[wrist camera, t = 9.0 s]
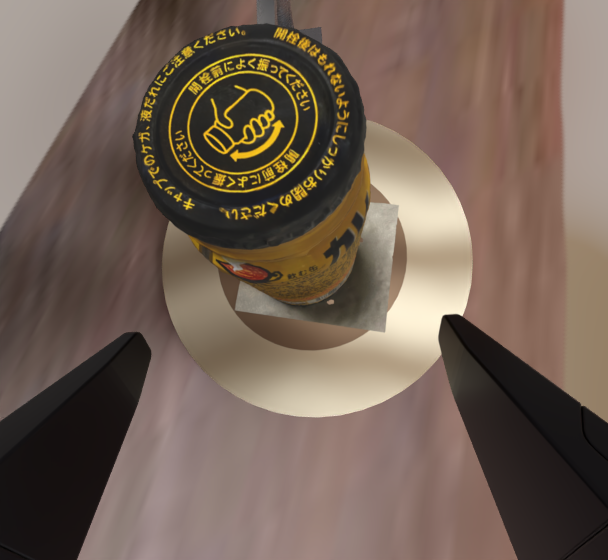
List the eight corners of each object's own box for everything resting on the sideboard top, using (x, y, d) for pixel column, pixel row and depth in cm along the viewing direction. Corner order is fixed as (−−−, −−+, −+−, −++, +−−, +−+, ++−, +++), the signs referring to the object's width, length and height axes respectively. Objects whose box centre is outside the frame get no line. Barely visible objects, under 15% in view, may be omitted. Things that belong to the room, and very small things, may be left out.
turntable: (481, 406, 18) (494, 414, 16) (171, 413, 19) (157, 420, 18) (443, 113, 20) (452, 96, 19) (176, 142, 22) (165, 128, 21)
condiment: (256, 192, 19) (130, -24, 7) (398, 206, 18) (511, -19, 6) (235, 310, 18) (51, 278, 6) (384, 332, 17) (487, 342, 5)
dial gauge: (328, 144, 22) (317, -89, 10) (257, 151, 22) (162, -63, 10) (321, 42, 23) (305, -279, 11) (255, 51, 24) (167, -248, 11)
